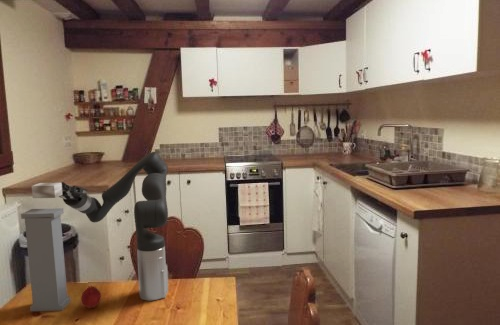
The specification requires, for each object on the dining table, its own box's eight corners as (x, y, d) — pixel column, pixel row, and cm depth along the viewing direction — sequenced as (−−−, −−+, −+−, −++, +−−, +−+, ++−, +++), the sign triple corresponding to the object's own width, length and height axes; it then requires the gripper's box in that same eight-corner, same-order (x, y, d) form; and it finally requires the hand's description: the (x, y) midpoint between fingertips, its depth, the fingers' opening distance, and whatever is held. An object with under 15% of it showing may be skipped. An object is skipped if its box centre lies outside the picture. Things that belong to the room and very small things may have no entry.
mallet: (73, 189, 130) (72, 178, 129) (55, 197, 117) (54, 185, 116) (53, 189, 130) (52, 178, 129) (32, 198, 116) (31, 186, 116)
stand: (70, 300, 123) (63, 208, 118) (62, 310, 117) (53, 213, 113) (40, 301, 122) (31, 209, 118) (30, 311, 116) (20, 214, 112)
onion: (104, 303, 121) (103, 280, 120) (95, 313, 115) (94, 289, 114) (88, 303, 121) (86, 280, 120) (78, 312, 116) (76, 288, 114)
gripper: (61, 190, 142) (38, 175, 126) (97, 189, 143) (79, 174, 127) (57, 209, 139) (34, 195, 123) (94, 208, 140) (75, 195, 124)
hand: (57, 185), depth 125 cm, fingers closed on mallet, 2 cm apart
